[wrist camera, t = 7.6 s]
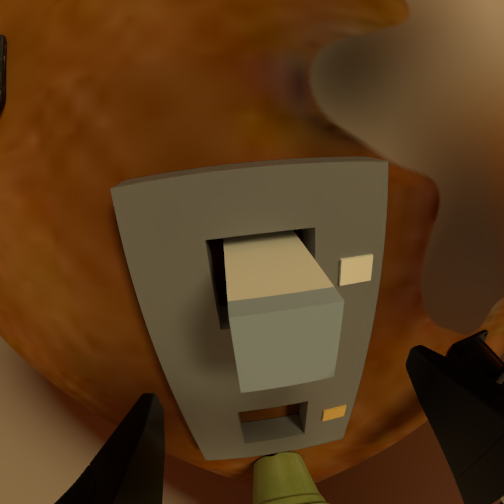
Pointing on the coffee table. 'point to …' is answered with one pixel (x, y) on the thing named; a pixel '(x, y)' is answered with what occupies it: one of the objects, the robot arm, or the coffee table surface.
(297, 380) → the plug
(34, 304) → the coffee table surface
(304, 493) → the plant pot
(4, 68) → the battery charger
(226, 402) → the panel board
